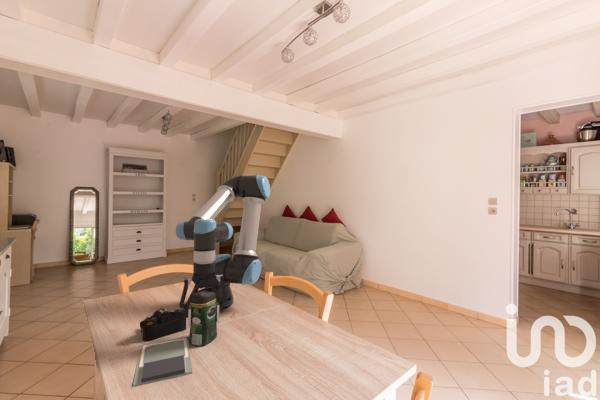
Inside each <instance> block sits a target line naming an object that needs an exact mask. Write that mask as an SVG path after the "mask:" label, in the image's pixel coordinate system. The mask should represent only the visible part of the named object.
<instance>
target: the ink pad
mask: <svg viewBox="0 0 600 400" xmlns="http://www.w3.org/2000/svg"><path fill="white" fill-rule="evenodd" d="M184 373H187V371H186V361H185V358H184V355H182V356H177V357H172V358H167V359H162V360H158V361H153V362H148V363H144V366H143V367H142V372H141V378H140V383H145V382H149V381H153V380H158V379H162V378H166V377H171V376H175V375H179V374H184Z"/></svg>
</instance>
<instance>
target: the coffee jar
mask: <svg viewBox="0 0 600 400" xmlns="http://www.w3.org/2000/svg"><path fill="white" fill-rule="evenodd" d="M189 296H190V306H189V307H191V328H189V334H188V335H189V336H188V337H189V338H188V342H189V345H192V346H195V347H205V346H207V345H208V344H210V343H211V342H213V341H214V340H215V339H216V338H217V336H218V326H217V324H218V323H217V322H216V302H217V299H216V293H215V292H213V291H212V289H211V288H210V287H209V288H201V289H199V290H198V291H197V292H194V293H192V294H191V293H189Z"/></svg>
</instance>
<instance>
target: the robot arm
mask: <svg viewBox="0 0 600 400" xmlns="http://www.w3.org/2000/svg"><path fill="white" fill-rule="evenodd" d="M270 196H271V185H270V182H269V179H268V178H267V177H266V176H265V175H258V174H256V175H254V174H253V175H250V174H249V175H236V176H233V177H230V178H229V179H227V180H225V181H224V182H222V183H221V184H220V185H219V186H218V187H217V188H216V192H215V193H214V194H213V195H211V197H210V198H209V199H208V200H207V201H206V202H205V204H203V206H201V208H199V210H198V211H197V212H195V214H193V216H192V217H191V218H190V219H189V220H188V221H185V220H184V221H180V222H179V223H177V225H176V226H175V235H176V237H177V238H178V239H179V240H182V241H193V264H192V265H193V266H192V268H193V271H192V277H185V278H184V279H183V284H184V285H183V289H182V292H181V295H180V296H181V297H180V298H179V299H180V301H179V304H178V305H179V308H180V309H184V310H185V318H186V319H187V328H188V329H190V328H191V306H190V295H189V296H188V298H187V300H186V297H187V294H188V289H189V286H190V285H191V283H192V282H193V284H194V286H193V289H191V292H190V294H192V293H194V292H197V291H199V290H201V289H203V288H209V287H210V288H211V289H212V291H213V292H215V293H216V299H217V302H216V324H219V323H220V313H221V314H222V313H223V308H226V307H229V306H231V305H233V304H234V300H235V299H234V294H233V291H232V289H231V288H232V287H231V284H235V285H236V284H237V285H243V286H244V285H245V286H246V285H251V286H252V285H254V284H256V283H257V281H258V280H259V279H260V275H261V273H262V269H263V268H262V266H263V265H262V261H261V260H260V259H259V255H258V254H257V252H256V251H257V246H258V245H257V244H258V236H259V228H260V227H259V226H260V220H261V211H262V205H263V204H265V203H266V199H268V198H270ZM235 199H241V200H242V202H243V203H244V204H243V210H242V211H243V212H242V218H241V225H240V233H239V239H238V245H237V246H238V247H237V250H236V251H235V252H234V253H233V257H232V255H231V253H230V254H229V253H223V254H216V244H217V243H221V242H226V241H227V240H230V239H231V238H232V236H233V235H234V229H233V226H232V225H231V223H229V222H225V221H221V222H217V221H216V218H217V217H218V215H219V214H220V213H221V212H222V210H223V209H224V208H225V207H226V206H227V205H228V204H229V203H231V202H233V201H234V200H235ZM185 300H186V301H185Z"/></svg>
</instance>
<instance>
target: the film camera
mask: <svg viewBox="0 0 600 400" xmlns="http://www.w3.org/2000/svg"><path fill="white" fill-rule="evenodd" d="M139 328H140V333H141V334H142V341H143V342H144V343H146V342H152V341H154V340H155V341H156V340H158V339H161V338H164V337H168V336H170V335H174V334H178V333H181V332H183V331H185V330H187V318H185V309H184V308H180V309H179V308H176V309H171V310H169V311H168V310H167V309H166V308H165V307H164V308H160V309H157V310H155V311H154V312H153V313H152V315H148V316H146V317H145V318H144V320H141V321H140V322H139Z"/></svg>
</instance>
